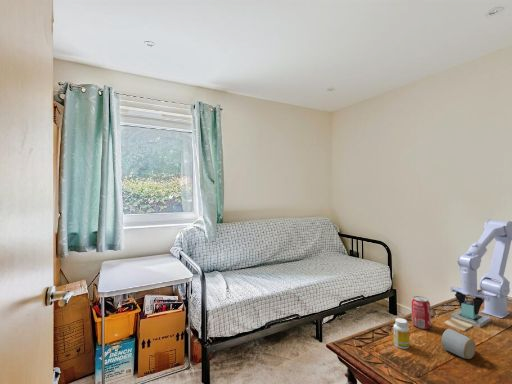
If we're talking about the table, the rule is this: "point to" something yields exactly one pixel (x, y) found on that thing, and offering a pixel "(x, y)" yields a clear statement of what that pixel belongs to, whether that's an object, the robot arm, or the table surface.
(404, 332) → the supplement bottle
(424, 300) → the soda can
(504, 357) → the table surface
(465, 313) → the teal cube with dome
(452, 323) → the cork coaster
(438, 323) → the table surface
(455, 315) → the block
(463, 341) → the grey cylinder
